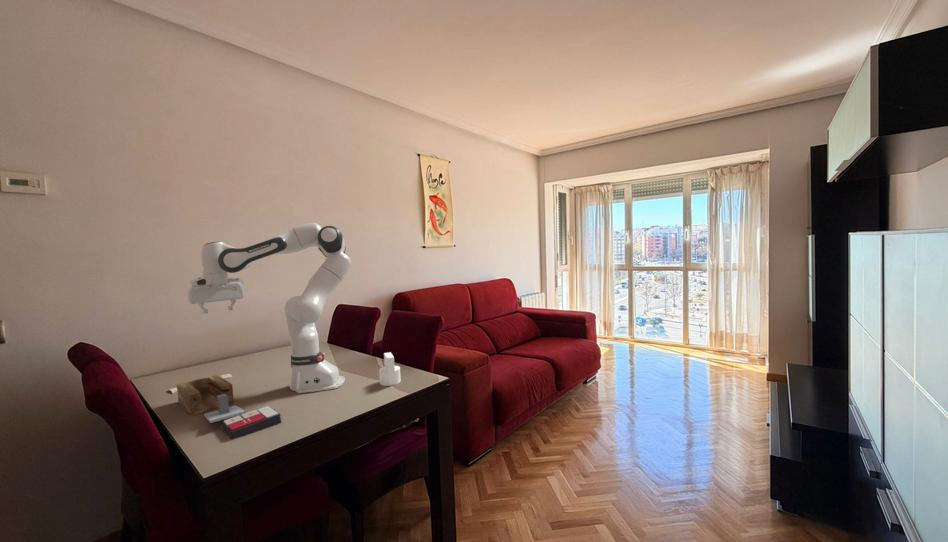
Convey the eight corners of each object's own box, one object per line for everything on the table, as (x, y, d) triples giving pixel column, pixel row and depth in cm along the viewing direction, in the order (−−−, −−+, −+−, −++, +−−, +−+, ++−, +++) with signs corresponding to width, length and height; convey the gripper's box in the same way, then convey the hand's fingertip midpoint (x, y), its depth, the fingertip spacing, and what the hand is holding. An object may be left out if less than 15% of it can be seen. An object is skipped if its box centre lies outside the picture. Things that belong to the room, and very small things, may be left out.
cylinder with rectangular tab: (402, 383, 166) (401, 356, 165) (381, 387, 163) (379, 359, 162) (398, 377, 174) (397, 351, 174) (378, 380, 171) (376, 354, 170)
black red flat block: (221, 420, 129) (269, 403, 140) (223, 432, 129) (270, 414, 140) (230, 430, 121) (280, 411, 132) (232, 443, 122) (281, 423, 132)
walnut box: (218, 391, 165) (217, 374, 164) (233, 403, 152) (232, 384, 151) (178, 402, 155) (176, 384, 154) (190, 415, 141) (188, 395, 141)
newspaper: (172, 395, 165) (172, 391, 165) (167, 392, 169) (166, 388, 169) (232, 378, 184) (232, 375, 184) (226, 376, 188) (226, 372, 188)
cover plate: (236, 407, 147) (233, 389, 147) (245, 413, 134) (242, 393, 134) (204, 416, 140) (202, 397, 141) (210, 423, 127) (208, 402, 128)
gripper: (240, 277, 175) (242, 307, 175) (185, 281, 159) (188, 314, 160) (245, 277, 170) (247, 308, 171) (189, 282, 155) (191, 316, 156)
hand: (218, 311), depth 166 cm, fingers open, 8 cm apart
